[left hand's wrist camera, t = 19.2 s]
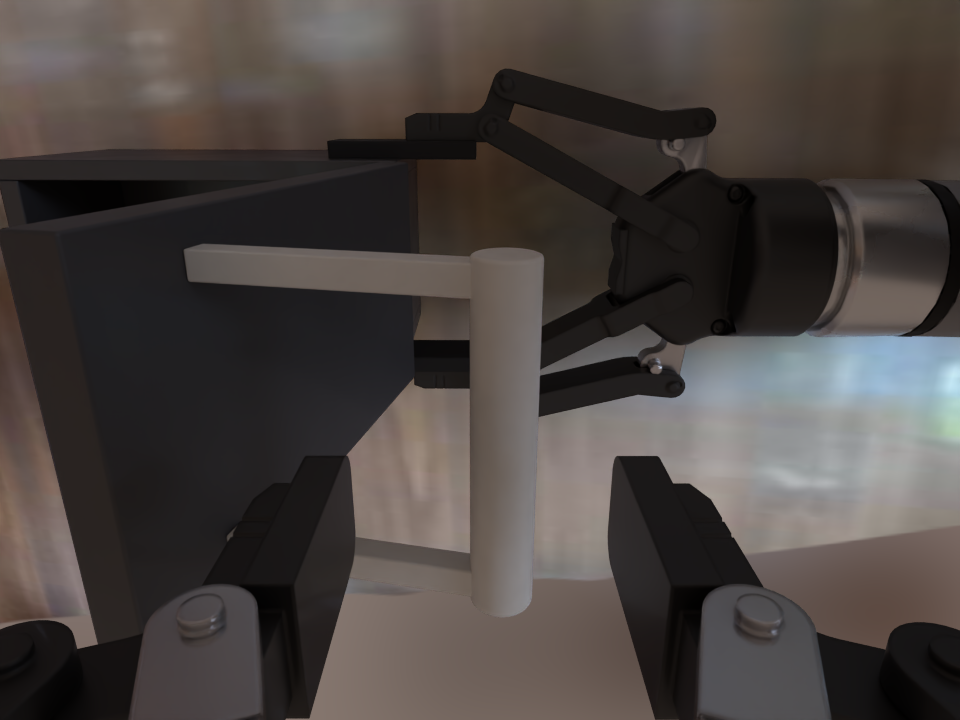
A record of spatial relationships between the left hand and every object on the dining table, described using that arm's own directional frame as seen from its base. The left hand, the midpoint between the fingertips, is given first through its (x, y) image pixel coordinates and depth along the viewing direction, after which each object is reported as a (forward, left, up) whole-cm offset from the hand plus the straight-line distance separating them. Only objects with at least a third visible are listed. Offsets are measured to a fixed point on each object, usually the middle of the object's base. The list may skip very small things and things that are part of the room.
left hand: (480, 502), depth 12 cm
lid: (-6, +1, -9) cm, 11 cm away
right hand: (-7, +1, -22) cm, 23 cm away
